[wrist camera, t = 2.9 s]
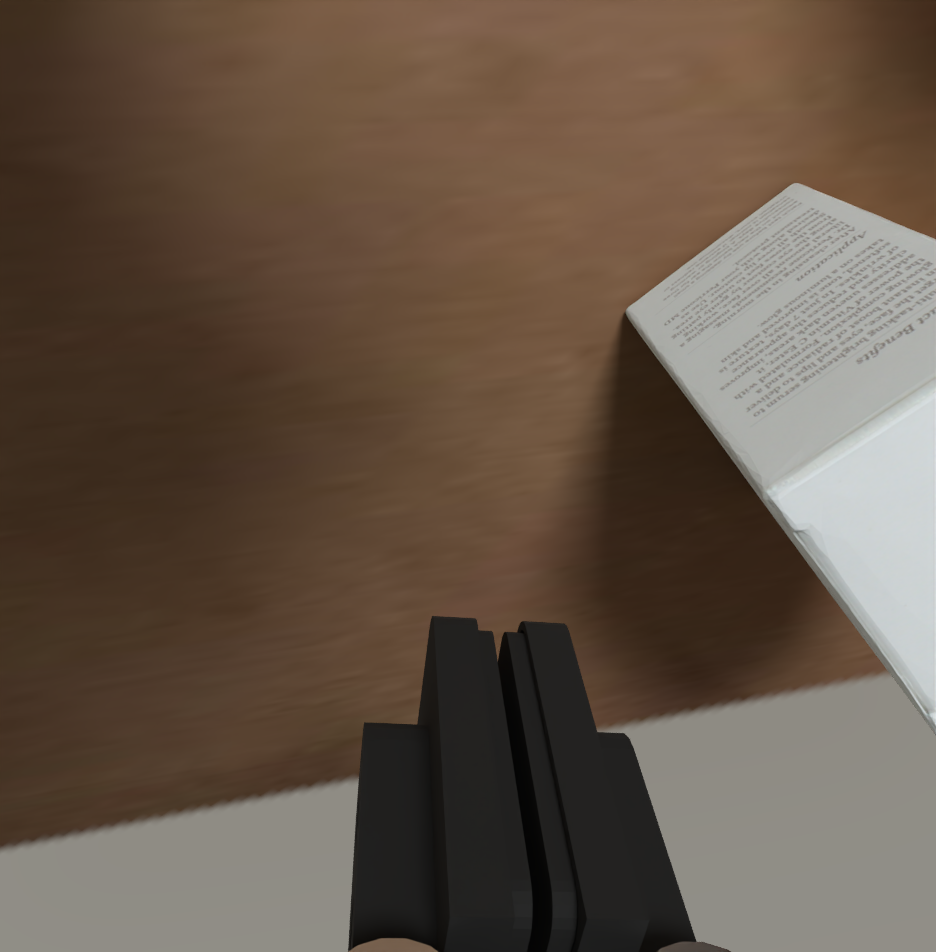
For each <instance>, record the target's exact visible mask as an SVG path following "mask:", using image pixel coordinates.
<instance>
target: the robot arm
mask: <svg viewBox="0 0 936 952" xmlns="http://www.w3.org/2000/svg"><path fill="white" fill-rule="evenodd" d="M348 952H731V951H729V950H727V949H724V948H721V947H718V946H714V945H711V944H707V943H705V942H696V939H695V936H694V933H693V930H692V927H691V924H690V921H689V917H688V914H687V911H686V908H685V905H684V902H683V899H682V896H681V893H680V890H679V887H678V884H677V881H676V877H675V874H674V871H673V868H672V865H671V862H670V859H669V856H668V853H667V850H666V847H665V843H664V840H663V837H662V834H661V831H660V828H659V825H658V822H657V819H656V816H655V813H654V810H653V806H652V803H651V800H650V797H649V794H648V791H647V788H646V785H645V782H644V779H643V776H642V773H641V769H640V767H639V763H638V760H637V757H636V754H635V751H634V748H633V746H632V744H631V741H630V739H629V738H628V737H627V736H626V735H625V734H624V733H603V732H597V730H596V726H595V723H594V719H593V716H592V712H591V708H590V705H589V701H588V698H587V694H586V691H585V687H584V683H583V680H582V676H581V673H580V669H579V666H578V662H577V658H576V655H575V651H574V648H573V644H572V640H571V637H570V633H569V630H568V628H567V625H565V624H562V623H545V622H527V621H522V622H521V623H520V625H519V628H518V632H517V633H515V632H505V633H504V634H503V637H502V642H501V647H500V653H499V659H498V662H497V655H496V648H495V642H494V636H493V632H492V631H479V630H478V625H477V620H476V619H474V618H457V617H439V616H432V618H431V623H430V629H429V637H428V645H427V653H426V661H425V669H424V677H423V685H422V693H421V701H420V709H419V717H418V725H412V724H388V723H364V728H363V738H362V750H361V761H360V773H359V787H358V800H357V813H356V828H355V846H354V861H353V880H352V896H351V913H350V930H349V948H348Z"/></svg>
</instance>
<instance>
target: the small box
mask: <svg viewBox="0 0 936 952" xmlns="http://www.w3.org/2000/svg"><path fill="white" fill-rule="evenodd" d="M626 315H627V317H628V319H629V320H630V322H631V323H632V324H633V326H634V327H635V329H636V330H637V331H638V333H639V334H640V336H641V337H642V338H643V340H644V341H645V342H646V344H647V345H648V347H649V348H650V349H651V351H652V352H653V353H654V355H655V356H656V358H657V359H658V360H659V361H660V363H661V364H662V365H663V367H664V368H665V369H666V371H667V372H668V373H669V375H670V376H671V377H672V379H673V380H674V381H675V383H676V384H677V385H678V387H679V388H680V389H681V391H682V392H683V393H684V395H685V396H686V397H687V399H688V400H689V401H690V403H691V404H692V405H693V407H694V408H695V409H696V411H697V412H698V414H699V415H700V416H701V418H702V419H703V420H704V422H705V423H706V425H707V426H708V427H709V429H710V430H711V432H712V433H713V434H714V436H715V437H716V438H717V440H718V441H719V443H720V444H721V445H722V447H723V448H724V449H725V451H726V452H727V454H728V455H729V456H730V458H731V459H732V460H733V462H734V463H735V465H736V466H737V467H738V469H739V470H740V472H741V473H742V474H743V476H744V477H745V478H746V480H747V481H748V483H749V484H750V485H751V487H752V488H753V489H754V491H755V492H756V494H757V495H758V496H759V498H760V499H761V500H762V502H763V503H764V505H765V506H766V507H767V509H768V510H769V511H770V513H771V514H772V515H773V517H774V518H775V519H776V521H777V522H778V524H779V525H780V526H781V528H782V529H783V530H784V532H785V533H786V534H787V536H788V537H789V538H790V540H791V541H792V543H793V544H794V545H795V547H796V548H797V549H798V551H799V552H800V553H801V555H802V556H803V557H804V559H805V560H806V562H807V563H808V564H809V566H810V567H811V568H812V570H813V571H814V572H815V574H816V575H817V577H818V578H819V579H820V581H821V582H822V583H823V585H824V586H825V588H826V589H827V590H828V592H829V593H830V594H831V596H832V597H833V598H834V600H835V601H836V602H837V604H838V605H839V606H840V608H841V609H842V610H843V612H844V613H845V614H846V616H847V617H848V618H849V620H850V621H851V622H852V624H853V625H854V626H855V628H856V629H857V630H858V632H859V633H860V634H861V636H862V637H863V638H864V640H865V641H866V642H867V643H868V645H869V646H870V647H871V649H872V650H873V651H874V653H875V654H876V655H877V657H878V658H879V659H880V661H881V662H882V663H883V665H884V666H885V667H886V669H887V670H888V671H889V673H890V674H891V675H892V677H893V678H894V679H895V681H896V682H897V684H898V685H899V686H900V688H901V689H902V690H903V692H904V693H905V694H906V695H907V697H908V698H909V700H910V701H911V702H912V704H913V705H914V706H915V708H916V709H917V710H918V712H919V713H920V714H921V716H922V717H923V718H924V720H925V721H926V723H927V724H928V725H929V727H930V728H931V730H932V731H933V732H934V734H935V735H936V239H933V238H931V237H929V236H927V235H924V234H921V233H918V232H916V231H913V230H911V229H909V228H906V227H904V226H901V225H899V224H896V223H894V222H892V221H889V220H887V219H885V218H882V217H880V216H878V215H875V214H873V213H870V212H868V211H865V210H863V209H861V208H858V207H856V206H853V205H851V204H848V203H846V202H843V201H841V200H838V199H836V198H833V197H831V196H828V195H826V194H823V193H821V192H818V191H816V190H814V189H811V188H809V187H807V186H804V185H802V184H799V183H794V184H792V185H790V186H789V187H787V188H786V189H785V190H783V191H782V192H781V193H780V194H778V195H777V196H776V197H774V198H773V199H772V200H770V201H769V202H768V203H766V204H765V205H764V206H762V207H761V208H760V209H758V210H757V211H756V212H754V213H753V214H751V215H750V216H749V217H747V218H746V219H745V220H743V221H742V222H741V223H739V224H738V225H737V226H735V227H734V228H733V229H731V230H730V231H729V232H727V233H726V234H725V235H723V236H722V237H721V238H719V239H718V240H717V241H715V242H714V243H713V244H711V245H710V246H709V247H707V248H706V249H705V250H703V251H702V252H701V253H699V254H698V255H697V256H695V257H694V258H693V259H691V260H690V261H689V262H687V263H686V264H685V265H683V266H682V267H681V268H679V269H678V270H677V271H675V272H674V273H673V274H671V275H670V276H669V277H668V278H666V279H665V280H664V281H662V282H661V283H660V284H658V285H657V286H656V287H654V288H653V289H652V290H651V291H649V292H648V293H647V294H645V295H644V296H643V297H641V298H640V299H639V300H638V301H636V302H635V303H633V304H632V305H630V306H629V307H628V308H627V310H626Z"/></svg>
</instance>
